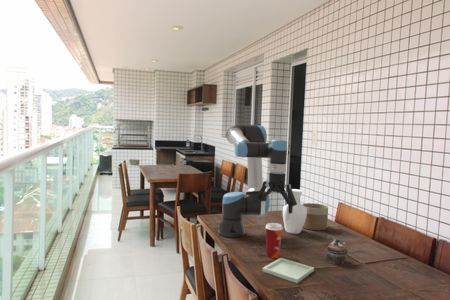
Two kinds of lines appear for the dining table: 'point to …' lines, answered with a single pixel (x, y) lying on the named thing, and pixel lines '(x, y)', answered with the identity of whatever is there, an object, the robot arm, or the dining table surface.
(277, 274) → the tray
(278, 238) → the coffee cup
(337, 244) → the cupcake
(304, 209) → the vase
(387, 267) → the dining table surface
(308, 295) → the dining table surface
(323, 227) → the planter
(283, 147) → the robot arm
